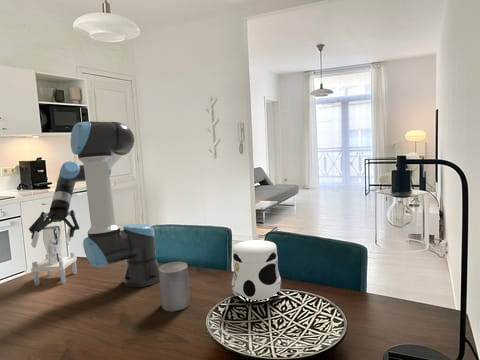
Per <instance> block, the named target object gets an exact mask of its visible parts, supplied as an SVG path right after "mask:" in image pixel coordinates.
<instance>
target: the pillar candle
mask: <svg viewBox="0 0 480 360" xmlns="http://www.w3.org/2000/svg"><path fill="white" fill-rule="evenodd" d="M159 278H160V281H159V287H160V299H161V308H162V310H164V311H165V312H171V313H173V312H177V311H182V310H185V309H187V308H188V307H189V306H190V305H191V292H190V284H189V283H190V282H189V281H190V280H189V268H188V264H187V262H185V261H184V262H183V261H171V262H168V263H164V264H161V265H159Z"/></svg>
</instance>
